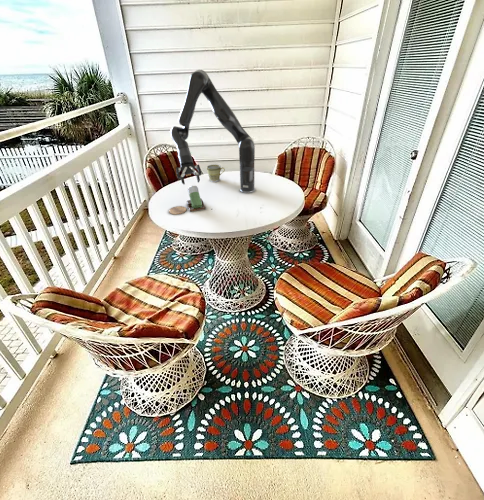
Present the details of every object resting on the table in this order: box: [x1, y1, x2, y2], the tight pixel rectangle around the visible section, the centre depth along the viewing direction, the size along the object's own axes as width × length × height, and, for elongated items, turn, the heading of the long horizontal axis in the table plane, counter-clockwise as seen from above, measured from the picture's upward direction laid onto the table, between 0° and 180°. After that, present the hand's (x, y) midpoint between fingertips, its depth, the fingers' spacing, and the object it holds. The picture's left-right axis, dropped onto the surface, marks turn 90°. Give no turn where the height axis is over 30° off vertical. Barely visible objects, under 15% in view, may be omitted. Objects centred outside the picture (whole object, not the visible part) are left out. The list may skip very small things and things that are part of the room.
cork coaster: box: [168, 205, 187, 215], centre depth 159 cm, size 10×10×1 cm
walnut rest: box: [186, 198, 206, 213], centre depth 161 cm, size 10×9×3 cm
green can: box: [187, 185, 203, 209], centre depth 158 cm, size 12×6×13 cm, turn 19°
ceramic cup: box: [206, 164, 226, 183], centre depth 196 cm, size 13×10×10 cm
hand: (191, 182), depth 160 cm, fingers open, 8 cm apart
